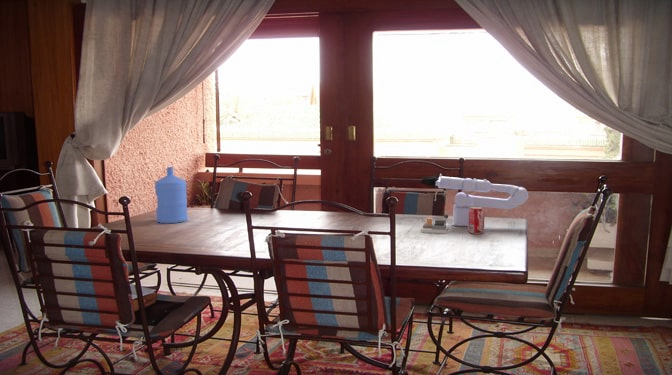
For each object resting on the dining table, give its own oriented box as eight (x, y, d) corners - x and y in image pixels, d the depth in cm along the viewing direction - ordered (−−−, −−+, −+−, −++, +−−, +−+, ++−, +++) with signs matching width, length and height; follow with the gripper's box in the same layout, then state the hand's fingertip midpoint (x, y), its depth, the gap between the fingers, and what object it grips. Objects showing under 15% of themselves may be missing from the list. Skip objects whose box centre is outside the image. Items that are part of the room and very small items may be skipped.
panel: (448, 226, 303) (448, 219, 303) (445, 233, 287) (445, 225, 286) (425, 225, 306) (425, 218, 305) (421, 232, 290) (421, 224, 289)
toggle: (445, 224, 300) (449, 214, 299) (445, 225, 299) (448, 215, 298) (441, 222, 301) (445, 213, 300) (441, 223, 299) (444, 214, 298)
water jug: (194, 220, 326) (192, 166, 323) (171, 224, 313) (169, 169, 310) (173, 217, 335) (170, 165, 331) (150, 222, 321) (147, 168, 318)
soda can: (485, 232, 289) (486, 206, 287) (482, 235, 282) (482, 208, 281) (470, 231, 292) (470, 205, 290) (466, 233, 285) (467, 208, 284)
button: (443, 225, 292) (444, 220, 292) (443, 226, 288) (443, 221, 288) (435, 224, 293) (435, 219, 293) (434, 226, 289) (434, 221, 289)
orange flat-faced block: (432, 224, 300) (432, 217, 299) (431, 225, 297) (431, 218, 297) (427, 224, 300) (427, 217, 300) (426, 225, 298) (426, 218, 297)
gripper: (451, 173, 313) (424, 170, 316) (449, 176, 299) (421, 173, 302) (449, 187, 314) (422, 184, 317) (448, 190, 300) (420, 188, 303)
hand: (422, 180), depth 310 cm, fingers open, 7 cm apart
